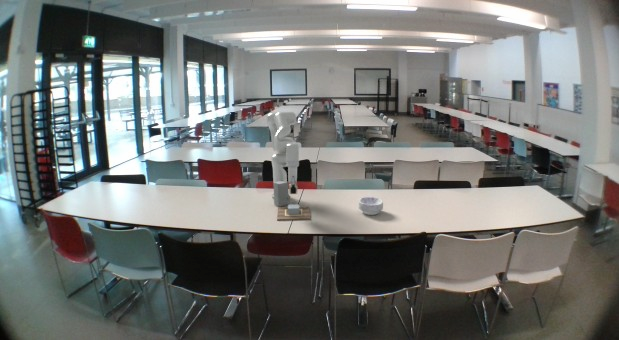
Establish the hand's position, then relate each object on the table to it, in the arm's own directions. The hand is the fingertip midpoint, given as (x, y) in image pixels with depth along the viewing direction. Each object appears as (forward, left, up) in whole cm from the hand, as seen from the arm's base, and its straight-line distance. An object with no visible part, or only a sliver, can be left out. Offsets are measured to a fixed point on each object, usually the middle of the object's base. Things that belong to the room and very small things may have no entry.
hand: (293, 191), depth 216 cm
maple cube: (0, 0, -1) cm, 1 cm away
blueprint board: (0, 0, -15) cm, 15 cm away
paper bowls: (+1, +49, -15) cm, 51 cm away
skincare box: (-18, -8, -15) cm, 25 cm away
